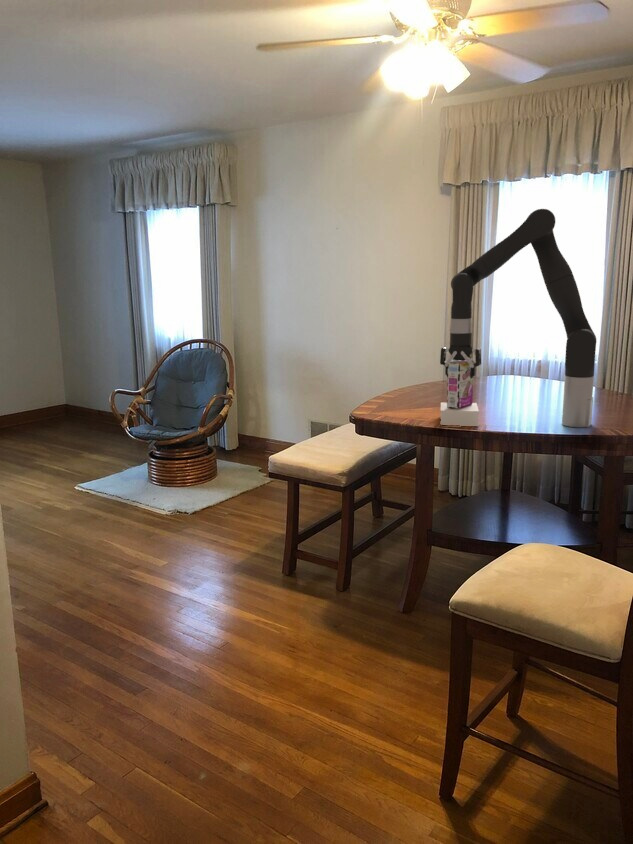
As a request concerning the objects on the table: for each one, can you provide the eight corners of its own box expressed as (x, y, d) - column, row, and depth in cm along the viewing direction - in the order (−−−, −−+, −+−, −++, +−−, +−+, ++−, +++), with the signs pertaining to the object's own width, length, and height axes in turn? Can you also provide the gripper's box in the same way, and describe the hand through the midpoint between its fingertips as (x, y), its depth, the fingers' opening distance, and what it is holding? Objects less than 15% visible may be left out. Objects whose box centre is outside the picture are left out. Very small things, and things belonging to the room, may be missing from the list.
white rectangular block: (476, 418, 243) (476, 402, 242) (478, 428, 229) (478, 411, 227) (440, 418, 245) (440, 402, 244) (440, 427, 231) (440, 410, 230)
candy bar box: (459, 409, 230) (459, 362, 227) (446, 408, 233) (446, 362, 230) (473, 404, 238) (474, 359, 235) (461, 403, 241) (461, 359, 238)
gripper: (484, 330, 229) (483, 376, 233) (445, 330, 236) (444, 374, 240) (477, 332, 223) (476, 380, 227) (437, 332, 230) (437, 377, 234)
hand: (460, 377), depth 233 cm, fingers open, 8 cm apart
